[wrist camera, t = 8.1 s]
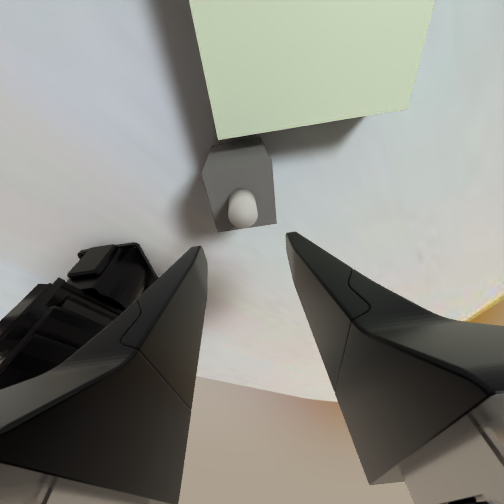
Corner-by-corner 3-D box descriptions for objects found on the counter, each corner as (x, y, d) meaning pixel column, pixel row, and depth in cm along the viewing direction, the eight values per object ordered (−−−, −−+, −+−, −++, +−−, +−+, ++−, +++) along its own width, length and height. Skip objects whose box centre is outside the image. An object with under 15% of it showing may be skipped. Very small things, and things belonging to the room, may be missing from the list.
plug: (265, 185, 20) (281, 240, 13) (222, 192, 20) (215, 249, 13) (260, 137, 18) (277, 172, 11) (211, 145, 18) (196, 185, 11)
